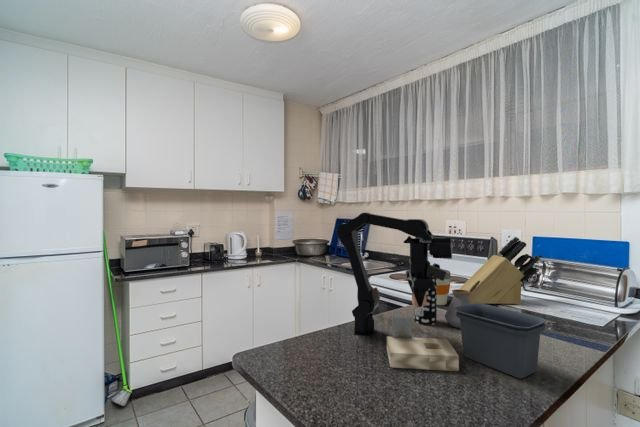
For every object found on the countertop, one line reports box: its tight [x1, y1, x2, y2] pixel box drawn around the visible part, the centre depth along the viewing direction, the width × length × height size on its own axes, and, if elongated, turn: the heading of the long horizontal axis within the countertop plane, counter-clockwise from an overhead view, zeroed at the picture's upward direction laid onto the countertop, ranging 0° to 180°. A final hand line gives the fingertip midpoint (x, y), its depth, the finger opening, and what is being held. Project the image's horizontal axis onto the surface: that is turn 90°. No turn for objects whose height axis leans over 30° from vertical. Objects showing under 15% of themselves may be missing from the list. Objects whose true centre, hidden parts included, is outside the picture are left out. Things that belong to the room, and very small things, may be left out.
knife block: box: [458, 236, 541, 305], centre depth 156 cm, size 11×35×31 cm, turn 89°
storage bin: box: [455, 303, 548, 379], centre depth 92 cm, size 21×16×14 cm
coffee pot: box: [444, 281, 483, 329], centre depth 126 cm, size 21×12×15 cm, turn 129°
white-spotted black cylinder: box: [413, 276, 438, 326], centre depth 127 cm, size 8×8×20 cm
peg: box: [411, 292, 426, 316], centre depth 108 cm, size 4×4×7 cm
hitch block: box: [386, 335, 460, 372], centre depth 94 cm, size 18×12×4 cm, turn 83°
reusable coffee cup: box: [437, 269, 452, 306], centre depth 154 cm, size 13×13×15 cm
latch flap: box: [391, 316, 413, 338], centre depth 100 cm, size 6×6×1 cm
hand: (418, 304), depth 108 cm, fingers closed on peg, 4 cm apart
